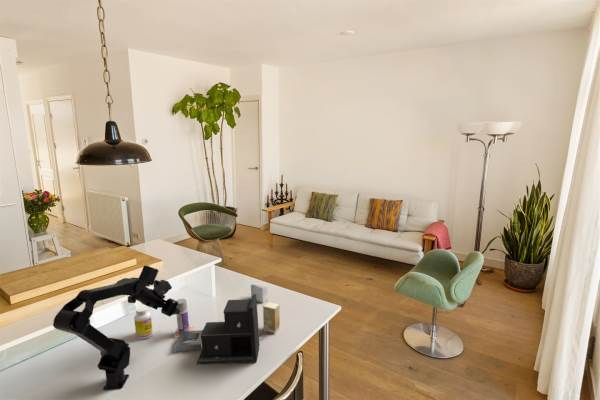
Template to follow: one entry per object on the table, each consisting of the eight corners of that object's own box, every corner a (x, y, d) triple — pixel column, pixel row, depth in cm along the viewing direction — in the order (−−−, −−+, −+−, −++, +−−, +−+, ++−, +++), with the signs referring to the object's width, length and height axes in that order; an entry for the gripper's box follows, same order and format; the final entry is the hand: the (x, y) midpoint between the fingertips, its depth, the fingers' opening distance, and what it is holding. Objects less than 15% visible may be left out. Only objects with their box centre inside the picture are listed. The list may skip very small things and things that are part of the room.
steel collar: (201, 350, 139) (200, 344, 138) (175, 352, 138) (175, 346, 137) (205, 336, 149) (205, 329, 148) (181, 337, 148) (181, 331, 147)
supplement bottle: (146, 340, 146) (143, 313, 144) (133, 339, 147) (129, 312, 145) (156, 331, 153) (153, 305, 150) (143, 330, 154) (139, 304, 151)
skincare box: (263, 331, 152) (262, 305, 149) (268, 326, 155) (267, 301, 153) (275, 334, 149) (275, 308, 146) (280, 329, 153) (279, 304, 150)
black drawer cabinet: (196, 364, 131) (191, 308, 126) (203, 347, 141) (199, 295, 136) (256, 363, 131) (254, 307, 126) (260, 346, 141) (257, 293, 137)
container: (189, 328, 154) (186, 297, 151) (189, 333, 150) (186, 302, 147) (178, 330, 153) (174, 299, 150) (178, 336, 148) (175, 304, 145)
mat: (190, 336, 148) (190, 335, 148) (174, 337, 148) (174, 337, 148) (193, 327, 155) (193, 326, 155) (178, 328, 155) (178, 328, 155)
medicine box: (268, 299, 180) (267, 284, 178) (263, 303, 176) (262, 288, 174) (256, 296, 184) (255, 281, 182) (251, 299, 180) (250, 284, 178)
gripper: (171, 282, 133) (197, 297, 144) (144, 272, 143) (170, 287, 154) (155, 309, 128) (182, 323, 139) (128, 297, 138) (156, 310, 149)
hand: (172, 309), depth 145 cm, fingers open, 9 cm apart
